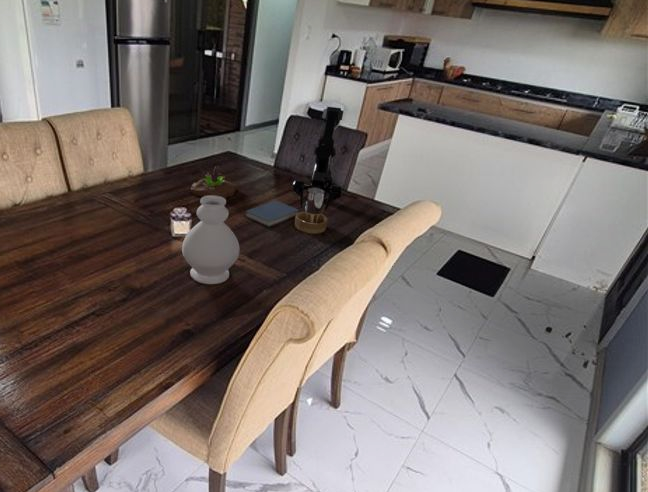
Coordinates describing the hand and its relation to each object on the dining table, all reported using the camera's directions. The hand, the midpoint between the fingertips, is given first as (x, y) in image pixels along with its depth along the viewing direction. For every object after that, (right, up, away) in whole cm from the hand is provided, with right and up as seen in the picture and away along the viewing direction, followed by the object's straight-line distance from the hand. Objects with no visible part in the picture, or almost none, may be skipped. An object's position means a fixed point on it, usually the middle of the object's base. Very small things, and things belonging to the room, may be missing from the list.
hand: (313, 208), depth 178 cm
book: (-15, 0, +12) cm, 19 cm away
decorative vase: (-39, -27, -31) cm, 57 cm away
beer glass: (0, -6, +5) cm, 8 cm away
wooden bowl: (0, -6, +5) cm, 8 cm away
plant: (-39, +14, +32) cm, 53 cm away
